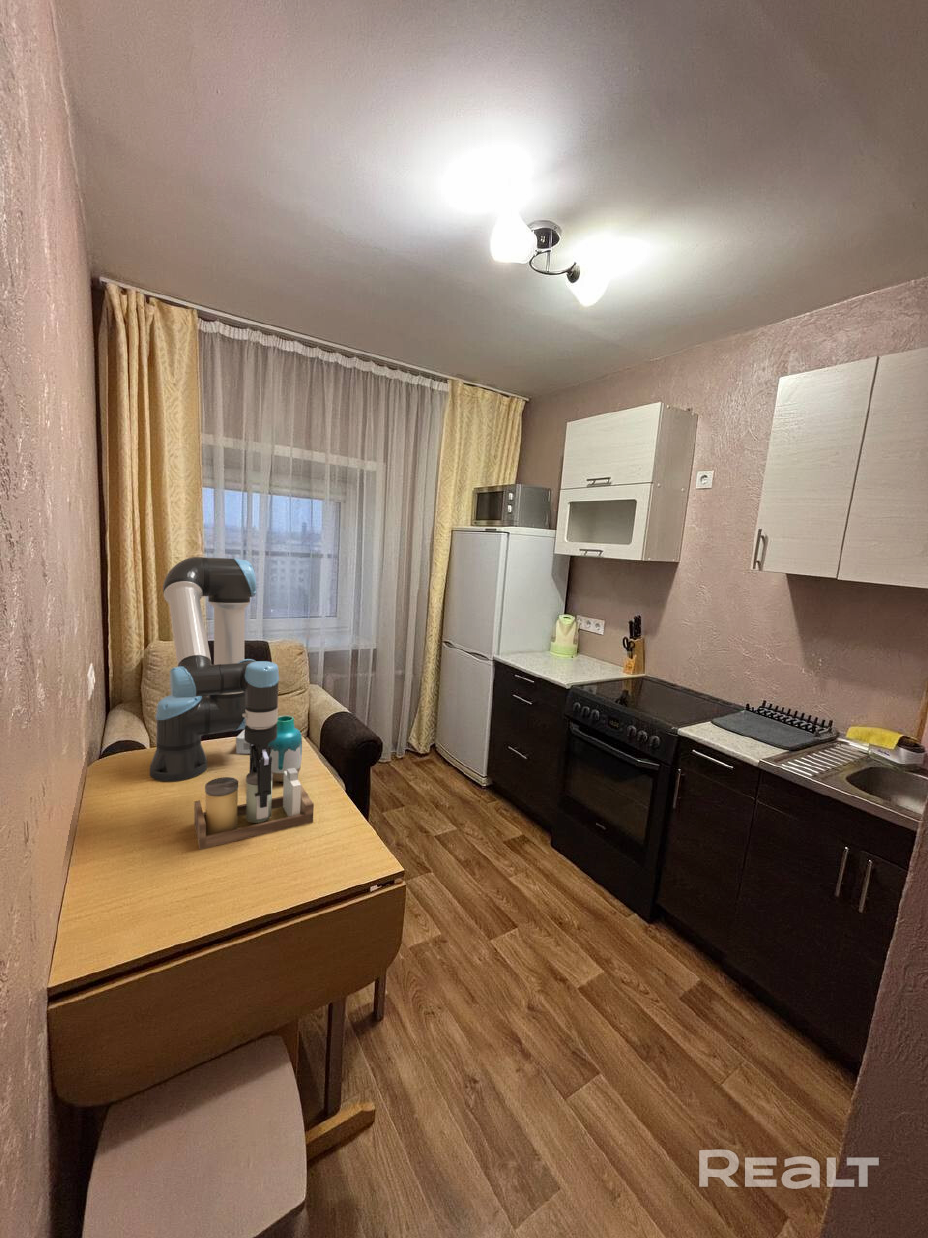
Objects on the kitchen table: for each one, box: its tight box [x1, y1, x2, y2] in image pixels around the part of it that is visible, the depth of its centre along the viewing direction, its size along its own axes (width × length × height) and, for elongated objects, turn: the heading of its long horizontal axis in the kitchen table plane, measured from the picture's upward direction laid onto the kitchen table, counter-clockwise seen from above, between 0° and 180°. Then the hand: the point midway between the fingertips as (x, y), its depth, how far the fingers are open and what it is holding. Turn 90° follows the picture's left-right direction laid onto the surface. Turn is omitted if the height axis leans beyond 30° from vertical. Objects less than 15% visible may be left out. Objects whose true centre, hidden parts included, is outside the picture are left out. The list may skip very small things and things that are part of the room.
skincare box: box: [235, 729, 250, 755], centre depth 170 cm, size 8×6×15 cm
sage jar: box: [245, 771, 273, 824], centre depth 124 cm, size 6×6×11 cm
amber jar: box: [204, 776, 239, 836], centre depth 119 cm, size 7×7×12 cm
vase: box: [268, 714, 303, 783], centre depth 147 cm, size 11×11×19 cm
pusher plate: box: [282, 768, 302, 817], centre depth 129 cm, size 9×2×12 cm, turn 34°
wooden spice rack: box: [193, 784, 315, 850], centre depth 124 cm, size 12×26×6 cm, turn 124°
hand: (259, 811), depth 125 cm, fingers closed on sage jar, 6 cm apart
